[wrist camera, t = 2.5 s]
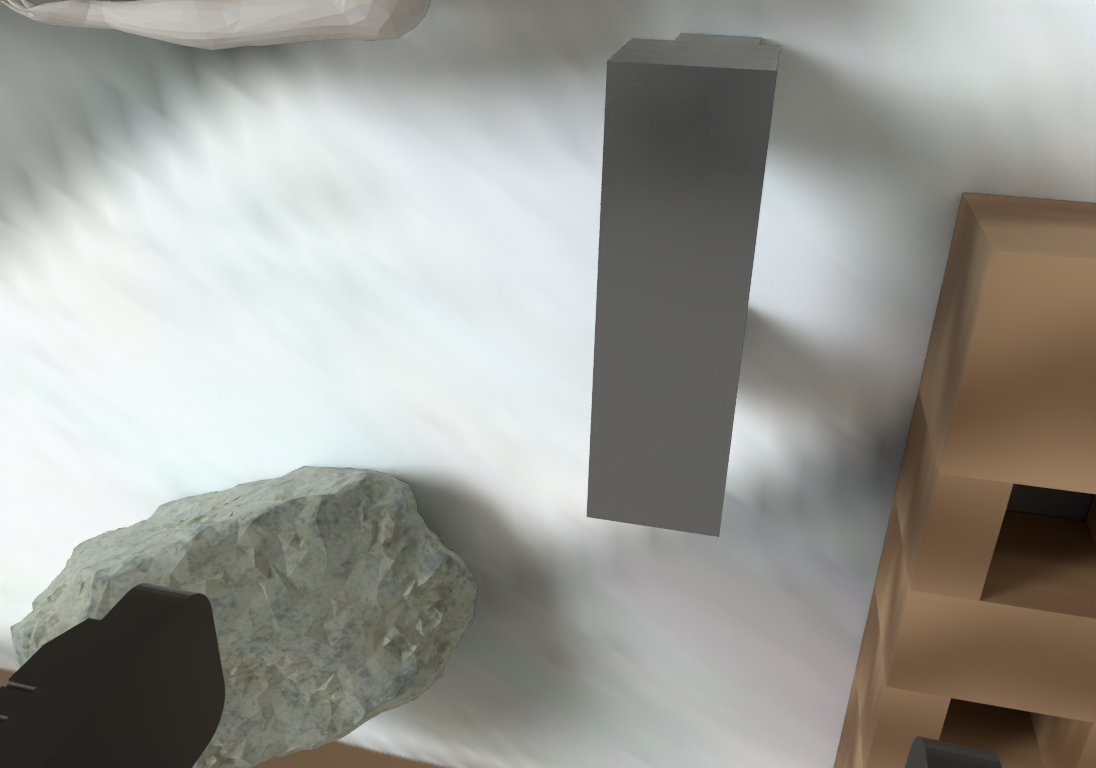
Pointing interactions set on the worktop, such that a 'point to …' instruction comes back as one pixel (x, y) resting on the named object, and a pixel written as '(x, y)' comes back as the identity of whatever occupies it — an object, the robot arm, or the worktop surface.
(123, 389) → the worktop surface
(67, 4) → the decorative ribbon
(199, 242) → the worktop surface
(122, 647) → the robot arm
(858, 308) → the worktop surface
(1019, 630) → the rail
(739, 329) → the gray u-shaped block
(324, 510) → the decorative stone
